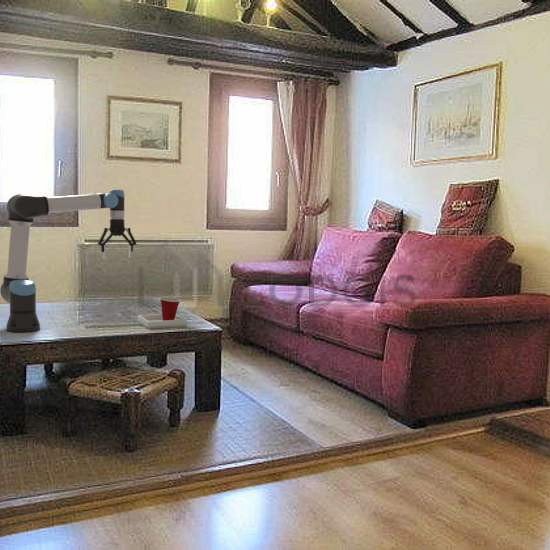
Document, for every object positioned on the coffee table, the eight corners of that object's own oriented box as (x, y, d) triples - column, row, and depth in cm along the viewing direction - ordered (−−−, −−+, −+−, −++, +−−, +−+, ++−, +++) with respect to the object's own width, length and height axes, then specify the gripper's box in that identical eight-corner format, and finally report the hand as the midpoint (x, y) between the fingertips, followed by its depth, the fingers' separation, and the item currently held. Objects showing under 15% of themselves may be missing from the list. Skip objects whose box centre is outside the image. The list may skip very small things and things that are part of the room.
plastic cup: (175, 323, 330) (177, 300, 328) (155, 321, 331) (157, 298, 330) (181, 320, 340) (183, 297, 339) (162, 318, 342) (163, 295, 340)
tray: (147, 329, 319) (147, 322, 319) (137, 321, 337) (137, 315, 337) (186, 326, 328) (186, 319, 328) (174, 319, 346) (174, 313, 346)
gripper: (138, 218, 355) (138, 257, 358) (92, 218, 344) (92, 257, 346) (141, 219, 348) (141, 258, 351) (94, 218, 337) (95, 259, 340)
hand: (117, 258), depth 349 cm, fingers open, 13 cm apart
